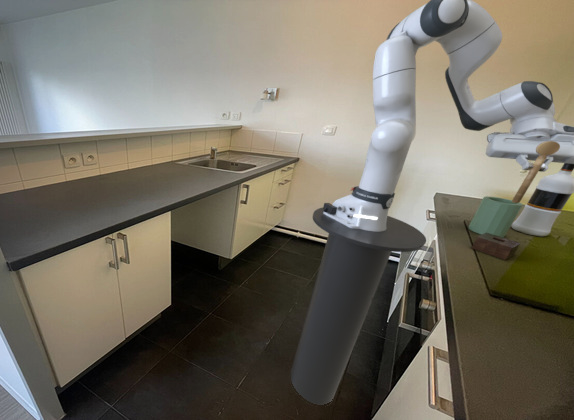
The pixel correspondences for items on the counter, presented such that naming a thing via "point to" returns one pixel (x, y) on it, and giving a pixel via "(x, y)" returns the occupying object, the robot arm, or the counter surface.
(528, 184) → the spoon
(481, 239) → the spoon stand
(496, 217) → the cup
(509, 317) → the counter surface
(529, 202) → the vodka
